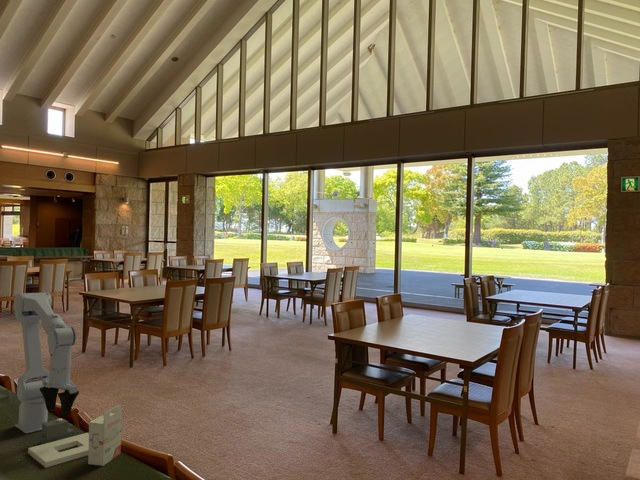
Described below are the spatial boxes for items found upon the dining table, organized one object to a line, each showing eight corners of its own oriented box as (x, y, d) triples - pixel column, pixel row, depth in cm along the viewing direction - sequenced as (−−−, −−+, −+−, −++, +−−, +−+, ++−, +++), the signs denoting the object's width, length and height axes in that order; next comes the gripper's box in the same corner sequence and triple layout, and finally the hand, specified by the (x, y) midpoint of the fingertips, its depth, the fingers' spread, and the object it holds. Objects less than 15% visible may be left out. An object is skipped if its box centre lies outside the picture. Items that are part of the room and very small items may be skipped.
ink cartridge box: (106, 452, 145) (108, 401, 145) (121, 454, 144) (123, 403, 144) (86, 464, 137) (88, 411, 137) (102, 466, 136) (104, 412, 136)
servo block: (34, 444, 149) (34, 422, 149) (68, 435, 156) (69, 414, 156) (39, 448, 146) (40, 426, 146) (74, 439, 154) (74, 418, 154)
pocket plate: (27, 453, 142) (28, 448, 142) (87, 437, 155) (87, 432, 155) (45, 467, 134) (45, 462, 134) (107, 449, 147) (107, 444, 147)
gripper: (33, 366, 150) (31, 411, 150) (62, 374, 143) (60, 421, 143) (55, 361, 156) (53, 405, 156) (84, 369, 149) (82, 414, 149)
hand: (58, 412), depth 150 cm, fingers open, 7 cm apart
